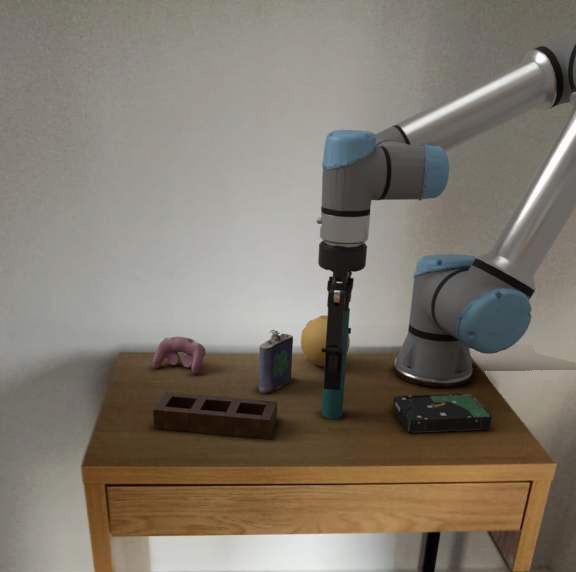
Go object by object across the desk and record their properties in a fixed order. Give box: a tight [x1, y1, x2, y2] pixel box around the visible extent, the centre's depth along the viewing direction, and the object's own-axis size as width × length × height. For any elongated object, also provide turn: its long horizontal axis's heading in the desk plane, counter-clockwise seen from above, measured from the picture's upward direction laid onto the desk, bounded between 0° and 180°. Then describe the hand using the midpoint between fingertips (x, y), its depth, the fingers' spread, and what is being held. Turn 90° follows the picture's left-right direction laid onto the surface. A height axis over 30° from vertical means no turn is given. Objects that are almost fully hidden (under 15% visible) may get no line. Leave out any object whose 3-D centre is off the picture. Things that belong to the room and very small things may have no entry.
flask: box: [258, 329, 294, 395], centre depth 140 cm, size 9×3×11 cm, turn 146°
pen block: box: [152, 391, 278, 440], centre depth 127 cm, size 20×8×4 cm, turn 82°
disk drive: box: [392, 393, 493, 433], centre depth 131 cm, size 10×3×15 cm
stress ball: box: [300, 315, 351, 368], centre depth 150 cm, size 10×10×10 cm
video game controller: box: [152, 336, 206, 375], centre depth 148 cm, size 10×5×7 cm, turn 72°
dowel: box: [321, 307, 351, 420], centre depth 127 cm, size 4×4×19 cm
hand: (334, 379), depth 129 cm, fingers open, 8 cm apart
